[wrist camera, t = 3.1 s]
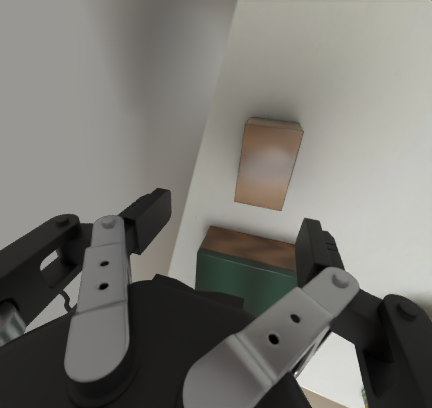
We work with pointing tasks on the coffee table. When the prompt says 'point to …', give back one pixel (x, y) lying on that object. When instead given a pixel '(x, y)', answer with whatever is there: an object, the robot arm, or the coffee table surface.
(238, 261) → the chalkboard
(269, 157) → the eraser
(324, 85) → the coffee table surface
